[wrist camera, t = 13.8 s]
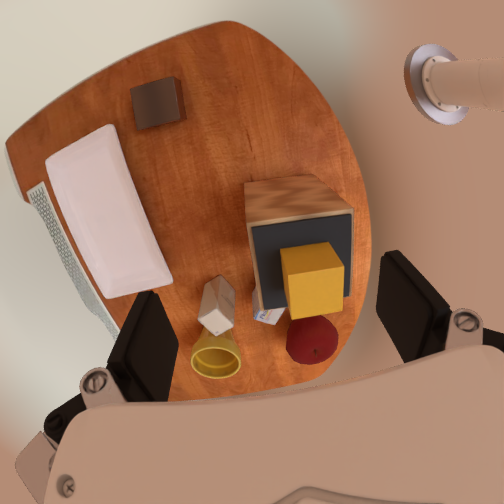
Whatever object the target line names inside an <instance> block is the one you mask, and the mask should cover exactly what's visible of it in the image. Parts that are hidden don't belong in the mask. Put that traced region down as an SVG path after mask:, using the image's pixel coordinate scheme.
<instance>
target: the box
mask: <svg viewBox="0 0 504 504" xmlns="http://www.w3.org/2000/svg"><path fill="white" fill-rule="evenodd" d="M234 312H235V290H234V289H233V287H232V286H231V285H230V284H229V283H228V282H227V281H226V280H225V279H224V277H223V276H222V275H219V276H217V277H216V278H214V279H212V280H211V281H209V282H208V283H206V284H205V286H204V291H203V296H202V300H201V305H200V310H199V314H198V321H199V322H200V323H201V324H202V325H204V326H205V327H206V328H207V329H208V330H209V331H210V332H211V333H212V334H213V335H215V336H218V335H220V334H222V333H223V332H225V331H227V330H229V329H231V328H232V327H234Z"/></svg>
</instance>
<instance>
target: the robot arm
mask: <svg viewBox="0 0 504 504" xmlns="http://www.w3.org/2000/svg"><path fill="white" fill-rule="evenodd" d="M422 83H423V87H424V90H425V92H426V94H427V96H428V98H429V99H430V101H431V102H432V103H433V104H434V105H435V106H436V107H437V108H438V109H440V110H442V111H445V112H455V111H457V110H459V109H460V108H461V106H464V107H473V108H481V109H488V110H495V111H501V112H504V58H487V59H470V60H458V61H450V60H449V59H447V58H445V57H442V56H433V57H430V58H429V59H427V60H426V61H425V63H424V65H423V68H422ZM376 312H377V314H378V316H379V318H380V320H381V322H382V323H383V325H384V327H385V328H386V330H387V332H388V334H389V336H390V337H391V339H392V341H393V343H394V345H395V346H396V348H397V350H398V352H399V354H400V356H401V358H402V359H403V361H404V364H401V365H398V366H395V367H391V368H388V369H385V370H381V371H378V372H375V373H371V374H367V375H363V376H360V377H356V378H351V379H347V380H344V381H339V382H334V383H330V384H325V385H320V386H315V387H310V388H305V389H299V390H293V391H288V392H282V393H274V394H267V395H259V396H251V397H242V398H233V399H220V400H205V401H179V402H168V396H169V391H170V386H171V381H172V376H173V371H174V366H175V361H176V356H177V352H178V347H179V343H178V339H177V337H176V335H175V332H174V330H173V328H172V326H171V323H170V321H169V319H168V317H167V314H166V312H165V310H164V307H163V305H162V302H161V300H160V298H159V295H158V294H157V293H155V294H154V292H153V291H144V292H139V293H138V295H137V297H136V299H135V301H134V303H133V305H132V307H131V309H130V311H129V314H128V316H127V318H126V320H125V322H124V324H123V327H122V329H121V331H120V333H119V335H118V338H117V340H116V342H115V345H114V347H113V349H112V352H111V354H110V356H109V358H108V361H107V363H108V364H107V366H106V368H101V367H98V368H94V369H92V370H90V371H88V372H87V373H86V374H85V375H84V376H83V377H82V379H81V381H80V386H79V387H80V392H81V393H80V394H78V395H77V396H75V397H74V398H72V399H70V400H69V401H67V402H66V403H64V404H63V405H61V406H60V407H58V408H57V409H55V410H53V411H52V412H51V413H50V414H49V415H48V416H47V417H46V419H45V422H44V432H43V433H42V432H41V431H40V432H39V433H38V434H37V435H36V436H35V437H34V438H33V439H32V441H31V442H30V443H29V444H28V445H27V446H26V447H25V448H24V450H23V451H22V452H21V453H20V454H19V455H18V457H17V458H16V462H15V468H16V471H17V473H18V474H19V476H20V478H21V479H22V481H23V483H24V484H25V486H26V487H27V489H28V490H29V492H30V493H31V494H32V496H33V497H34V499H35V500H36V502H37V503H38V504H504V334H503V333H500V332H496V331H493V330H489V329H486V328H483V321H482V319H481V317H480V316H479V315H478V314H477V313H476V312H474V311H472V310H470V309H465V308H461V309H457V310H455V311H453V312H452V311H451V310H450V306H449V304H448V303H447V302H446V301H445V300H444V299H443V298H442V296H441V295H440V294H439V293H438V292H437V291H436V290H435V288H434V287H433V286H432V285H431V284H430V283H429V282H428V281H427V280H426V279H425V277H424V276H423V275H422V274H421V273H420V272H419V271H418V270H417V269H416V268H415V267H414V266H413V265H412V263H411V262H410V261H408V259H407V258H406V257H405V256H404V255H403V254H402V253H401V252H400V251H398V250H394V251H389V252H385V254H384V256H382V257H381V263H380V275H379V285H378V294H377V303H376Z"/></svg>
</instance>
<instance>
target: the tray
mask: <svg viewBox="0 0 504 504" xmlns="http://www.w3.org/2000/svg"><path fill="white" fill-rule="evenodd" d="M45 163H46V169H47V173H48V176H49V179H50V182H51V185H52V188H53V190H54V193H55V196H56V198H57V201H58V204H59V206H60V209H61V211H62V213H63V216H64V218H65V221H66V223H67V225H68V227H69V230H70V232H71V234H72V236H73V238H74V241H75V243H76V245H77V247H78V249H79V251H80V253H81V255H82V257H83V259H84V261H85V263H86V265H87V267H88V269H89V270H90V272H91V274H92V276H93V278H94V280H95V282H96V283H97V285H98V287H99V289H100V291H101V292H102V294H103V296H104V297H105V298H106V299H111V298H116V297H120V296H124V295H128V294H132V293H136V292H140V291H144V290H148V289H153V288H157V287H161V286H165V285H169V284H171V283H173V277H172V275H171V273H170V270H169V268H168V266H167V264H166V262H165V259H164V257H163V255H162V253H161V250H160V248H159V246H158V243H157V241H156V239H155V236H154V234H153V231H152V229H151V226H150V224H149V221H148V219H147V216H146V214H145V211H144V209H143V206H142V204H141V201H140V199H139V196H138V193H137V191H136V188H135V186H134V183H133V180H132V178H131V175H130V172H129V169H128V166H127V164H126V161H125V158H124V155H123V152H122V148H121V145H120V142H119V138H118V135H117V132H116V128H115V126H114V125H113V124H108V125H105V126H103V127H101V128H99V129H97V130H96V131H94V132H92V133H90V134H88V135H87V136H85V137H83V138H81V139H79V140H78V141H76V142H74V143H72V144H70V145H69V146H67V147H65V148H63V149H62V150H60V151H58V152H56V153H55V154H53V155H52V156H50V157H49V158H47V159H46V161H45Z"/></svg>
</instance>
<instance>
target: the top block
mask: <svg viewBox="0 0 504 504" xmlns="http://www.w3.org/2000/svg"><path fill="white" fill-rule="evenodd" d="M280 253H281V262H282V272H283V282H284V290H285V295H286V299H287V303H288V307H289V312H290V316H291V319H292V320H293V319H299V318H305V317H311V316H317V315H322V314H328V313H333V312H338V311H342V307H343V288H344V265H343V264H342V262H341V260H340V259H339V257H338V256H337V254H336V253H335V251H334V249H333V248H332V246H331V245H330V243H329V242H324V243H317V244H310V245H303V246H297V247H290V248H283V249H280Z"/></svg>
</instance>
